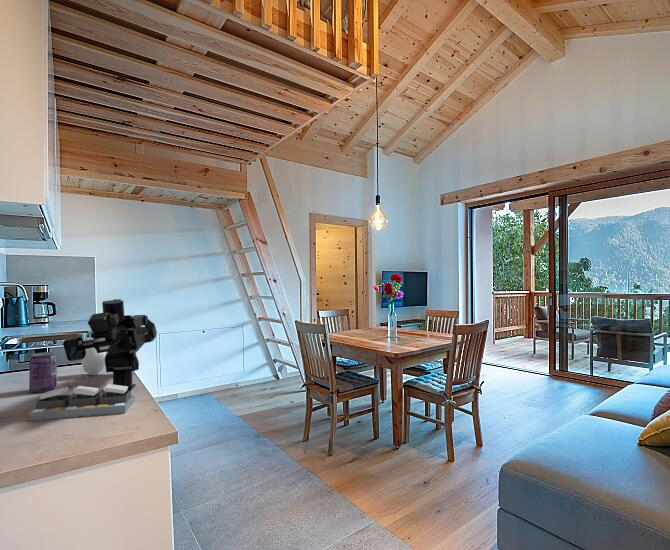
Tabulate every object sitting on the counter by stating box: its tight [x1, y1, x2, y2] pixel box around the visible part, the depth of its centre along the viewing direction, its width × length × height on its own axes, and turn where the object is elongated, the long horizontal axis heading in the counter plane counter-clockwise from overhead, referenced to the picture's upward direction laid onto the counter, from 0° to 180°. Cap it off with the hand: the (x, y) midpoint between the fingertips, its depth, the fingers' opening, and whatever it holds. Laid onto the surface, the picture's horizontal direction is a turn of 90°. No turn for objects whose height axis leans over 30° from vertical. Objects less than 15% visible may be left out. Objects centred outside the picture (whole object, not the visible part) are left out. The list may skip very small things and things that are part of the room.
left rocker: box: [39, 386, 69, 399], centre depth 104 cm, size 4×5×1 cm
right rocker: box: [103, 383, 128, 394], centre depth 108 cm, size 4×5×1 cm
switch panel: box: [28, 390, 136, 421], centre depth 106 cm, size 10×23×4 cm, turn 104°
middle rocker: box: [72, 385, 100, 396], centre depth 106 cm, size 4×5×1 cm
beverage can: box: [28, 351, 58, 393], centre depth 125 cm, size 7×7×12 cm
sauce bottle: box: [81, 335, 107, 376], centre depth 145 cm, size 8×8×18 cm
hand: (89, 354), depth 102 cm, fingers open, 9 cm apart
